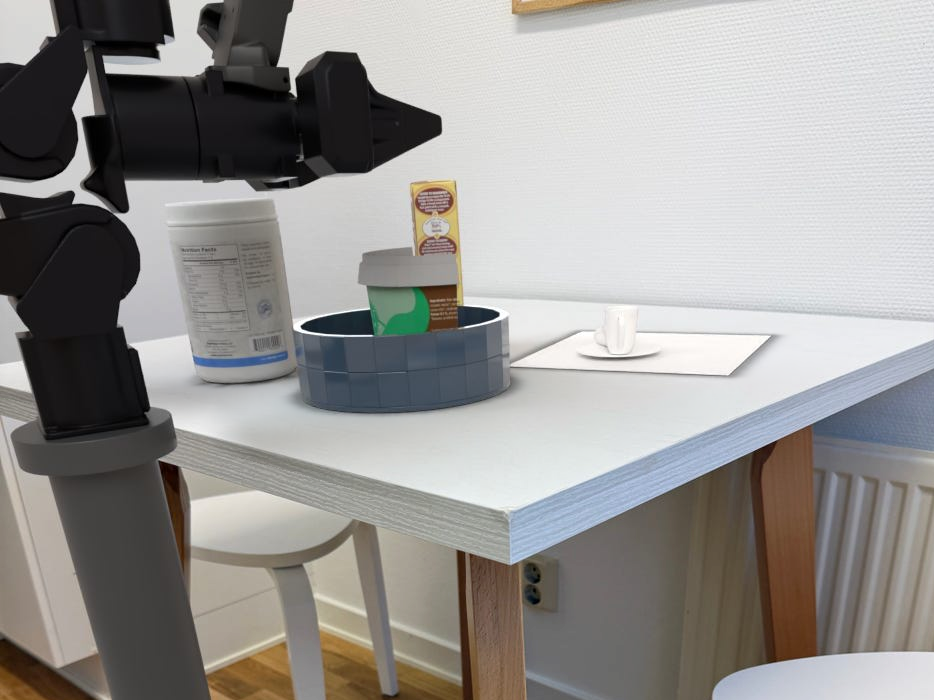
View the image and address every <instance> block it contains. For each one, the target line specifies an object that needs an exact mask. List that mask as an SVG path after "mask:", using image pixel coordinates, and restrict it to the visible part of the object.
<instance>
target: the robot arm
mask: <svg viewBox="0 0 934 700" xmlns="http://www.w3.org/2000/svg"><path fill="white" fill-rule="evenodd" d="M294 3H295V0H223V1H222V2H221V1H219V2H209V3H206V4H205V5H204V6H203V7H202V8H201V9H200V11H199V16H198V20H197V22H198V23H197V27H196V34H197V35H198V36H199V38H200V39H201V40H202V41H203V42H204V43H205V45H206V46H208V48H209V49H210V50H211V51H212V53H211V59H212V60H213V65H212V64H211V65H208V66H206V67H204V71H202V72H201V73H200V74H196V75H195V76H191V75H189V76H188V75H187V76H186V75H162V74H161V75H160V74H139V73H138V74H137V73H115V72H114V73H112V72H106V68H105V64H110V65H111V64H112V65H113V64H114V65H122V66H123V65H128V66H139V65H140V66H143V65H144V66H145V65H154V64H159V63H161V62H162V57H161V50H159V49H158V47H165V46H166V45H167V44H172V43H175V41H176V36H175V29H174V23H173V17H172V9H171V3H170V0H49V5H50V11H51V16H52V21H53V25H54V30H55V31H54V32H55V36H51V35H49V36H48V35H45V38H44V39H43V41H42V42H41V44H40V46H39V47H38V48H39V49H38V50H39V51H38V52H37V53H36V54H35V55H34V56H33V57H32V58H31V59H30V60H29V61H28V62H27V63H25V64H20V63H14V62H0V181H5V182H13V183H21V184H32V183H37V182H42V181H45V180H49V179H53V178H55V177H57V176H58V175H60V174H62V173H63V172H64V171H66V170H67V168H68V167H69V165H70V164H71V162H72V161H73V159H74V158H75V156H76V152H77V149H78V145H79V144H78V143H79V129H78V121H77V118H76V115H75V112H74V110H73V107H74V105H75V102H76V101H77V98H78V96H79V94H80V92H81V89H82V86H83V84H84V81H85V79H86V77H87V75H88V77H89V84H90V90H91V97H92V105H93V112H94V114H92V115H85V116H81V118H80V120H81V125H82V131H83V137H84V142H85V147H86V152H87V157H88V162H89V163H88V164H89V172H88V173H87V174H86V176H85V177H84V178H83V179H82V180H81V181H80V182H79V187H80V189H81V190H82V191H83V192H87V193H89V195H90V194H91V195H92V196H94V197H95V198H96V199H98V200H99V201H100V202H102V204H103V205H104V206H105V207H106V208H105V207H102V206H100V205H95V204H90V203H89V204H88V203H83V202H82V203H81V202H79V203H78V202H77V203H74V200H75V198H76V193H75V191H74V190H71V189H70V190H63V191H57V192H56V193H54V194H51V195H49V196H47V197H35V196H27V195H22V194H16V193H9V192H4V191H0V296H5V297H6V298H7V302H8V303H9V304H10V306H11V307H12V309H13V310H14V312H15V313H16V315H17V316H18V318H19V319H20V321H21V322H22V324H23V325H24V326H25V327H26V328H27V329H28V330H26V331H25V330H24V331H17V332H14V335H15V338H16V342H17V345H18V349H19V353H20V356H21V357H20V358H21V360H22V363H23V368H24V371H25V374H26V378H27V381H28V384H29V388H30V391H31V396H32V399H33V402H34V406H35V410H36V414H37V415H36V416H35V420H37V423H38V426H39V428H40V430H41V432H42V435H43V437H44V439H45V440H57V439H63V438H70V437H76V436H82V435H89V434H95V433H101V432H108V431H114V430H121V429H127V428H133V427H140V426H146V425H149V424H150V422H149V417H148V416H147V415H146V414H145V413H146V412H149V410H150V409H151V408H150V407H151V404H150V399H149V395H148V390H147V386H146V385H147V384H146V381H145V377H144V372H143V368H142V362H141V359H140V354H139V350H138V349H136V348H135V347H133V345H131V344H129V343H127V338H126V334H125V329H124V325H122V324H120V323H119V322H118V321H119V313H120V306H121V301H123V300H125V299H126V298H127V296H129V294H130V292H132V290H133V289H134V288H135V286H136V285H137V282H138V280H139V276H140V272H141V271H142V270H141V251H140V249H139V246H138V244H137V240H136V238H135V236H134V234H133V233H132V231H131V230H130V228H129V227H128V226H127V224H126V223H125V222H124V221H123V220H122V219H120V218H119V217H118V216H116V214H118V215H125V214H127V213H128V212H130V202H129V201H130V200H129V196H128V191H127V185H126V182H182V181H183V182H189V181H191V182H192V181H193V182H194V181H196V182H197V181H202V183H203V184H218V183H221V182H225V181H245V182H246V183H247V185H249V186H250V187H251V188H252V189H253V190H254V191H255V193H257V192H258V193H259V192H283V191H288V190H292V189H298V188H301V187H304V186H306V185H309V184H312V183H314V182H315V181H318V180H320V179H322V178H346V177H347V178H348V177H355V176H360V175H365V174H369V173H370V172H372V171H373V170H375V169H376V168H378V167H381V166H383V165H385V164H386V163H388V162H390V161H392V160H394V159H396V158H397V157H400V156H403V154H406V153H408V152H409V151H411V150H413V149H415V148H418V147H419V146H422V145H424V144H426V143H427V142H429V141H431V140H433V139H435V138H438V137H440V136H441V135H442V134H443V119H442V116H441V115H440V114H437V113H435V112H431V111H429V110H427V109H423V108H421V107H418V106H414V105H412V104H409V103H407V102H404V101H401V100H398V99H396V98H393V97H390V96H388V95H385V94H383V93H381V92H379V91H377V90H376V89H375V87H374V85H373V84H372V83H371V81H370V80H369V78H368V72H367V69H366V67H365V65H364V64H363V63H362V61H361V58H360V57H359V55H358V52H356V51H355V52H354V51H351V52H350V51H339V50H338V51H337V50H336V51H335V50H325V51H323V52H322V53H320V54H318V55H317V56H314V57H313V58H311V59H309V60H308V61H306V63H305V65H304V66H303V67H302V68H301V69H300V70H299V72H298V74H297V75H296V76H295V78H294V82H295V92H296V95H295V94H294V93H292V92H291V91H292V85H291V84H292V83H291V76H290V75H291V74H290V68H289V67H288V66H278V64H279V61H280V58H281V54H282V48H283V43H284V38H285V33H286V27H287V22H288V18H289V17H288V16H289V14H290V13H291V12H293V9H294Z"/></svg>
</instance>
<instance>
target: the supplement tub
mask: <svg viewBox="0 0 934 700" xmlns="http://www.w3.org/2000/svg"><path fill="white" fill-rule="evenodd" d="M164 211H165V212H164V213H165V216H166V217H165V218H166V222H165V224H166V226H167V235H168V239H169V245H170V250H171V255H172V259H173V265H174V269H175V274H176V279H177V284H178V289H179V295H180V301H181V305H182V310H183V315H184V319H185V325H186V330H187V335H188V340H189V345H190V351H191V356H192V360H193V364H194V369H195V373H196V374H197V376H198V377H200V378H201V379H202V380H204V381H207V382H210V383H218V384H242V383H243V384H244V383H253V382H261V381H267V380H272V379H276V378H277V379H278V378H280V377H284V376H287V375H289V374H291V373H292V372H294V371H295V370H296V369H297V363H296V356H295V349H294V341H293V334H292V326H293V325H294V321H293V313H292V306H291V300H290V292H289V285H288V279H287V272H286V271H287V270H286V264H285V258H284V257H285V256H284V249H283V243H282V242H283V241H282V236H281V229H280V222H279V220H278V218H279V217H278V214H277V212H276V211H277V210H276V205H275V200H274V198H273V197H243V198H241V197H240V198H225V199H224V198H223V199H210V200H193V201H181V202H180V201H179V202H170V203H165V204H164Z"/></svg>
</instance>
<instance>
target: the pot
mask: <svg viewBox="0 0 934 700" xmlns="http://www.w3.org/2000/svg"><path fill="white" fill-rule="evenodd" d="M457 313H458V328H454V329H446V330H439V331H430V332H419V333H407V334H388V335H374V329H373V323H372V317H371V311H370V307H369V308H362V309H352V310H345V311H339V312H333V313H327V314H323V315H317V316H312V317H309V318H305V319H303V320H300V321H297V322H296V323H293V326H292V334H293V341H294V349H295V356H296V363H297V366H296V369H297V376H298V383H299V390H300V394H301V399H302V400H303V402H304V403H306V404H308V405H310V406H313V407H315V408H319V409H323V410H328V411H337V412H346V413H361V414H363V413H364V414H366V413H367V414H386V413H406V412H407V413H408V412H409V413H411V412H419V411H429V410H438V409H446V408H451V407H457V406H458V407H459V406H462V405H463V406H464V405H468V404H472V403H477V402H480V401H483V400H487V399H490V398H493V397H496V396H497V395H499V394H502V393H504V392H505V391H507V390H508V389H509V387H510V386H511V367H510V364H511V356H510V355H511V354H510V327H509V326H510V324H509V322H510V321H509V312H508V311H506V310H503V309H502V308H499V307H492V306H486V305H473V304H464V305H457Z"/></svg>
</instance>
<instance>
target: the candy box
mask: <svg viewBox="0 0 934 700" xmlns="http://www.w3.org/2000/svg"><path fill="white" fill-rule="evenodd" d="M409 195H410V196H409V197H410V209H411V224H412V238H413V253H414V256H422V255H442V254H456V263H457V265H458V273H459V282H460V284H457V305H465V302H464V300H465V299H464V286H463V285H464V284H463V268H462V253H461V252H462V251H461V250H462V249H461V237H460V236H461V235H460V222H459V221H460V220H459V207H458V206H459V205H458V190H457V180H455V179H432V180H431V179H430V180H423V181H421V180H420V181H415V182H413V181H412V182H411V183H409Z"/></svg>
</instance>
